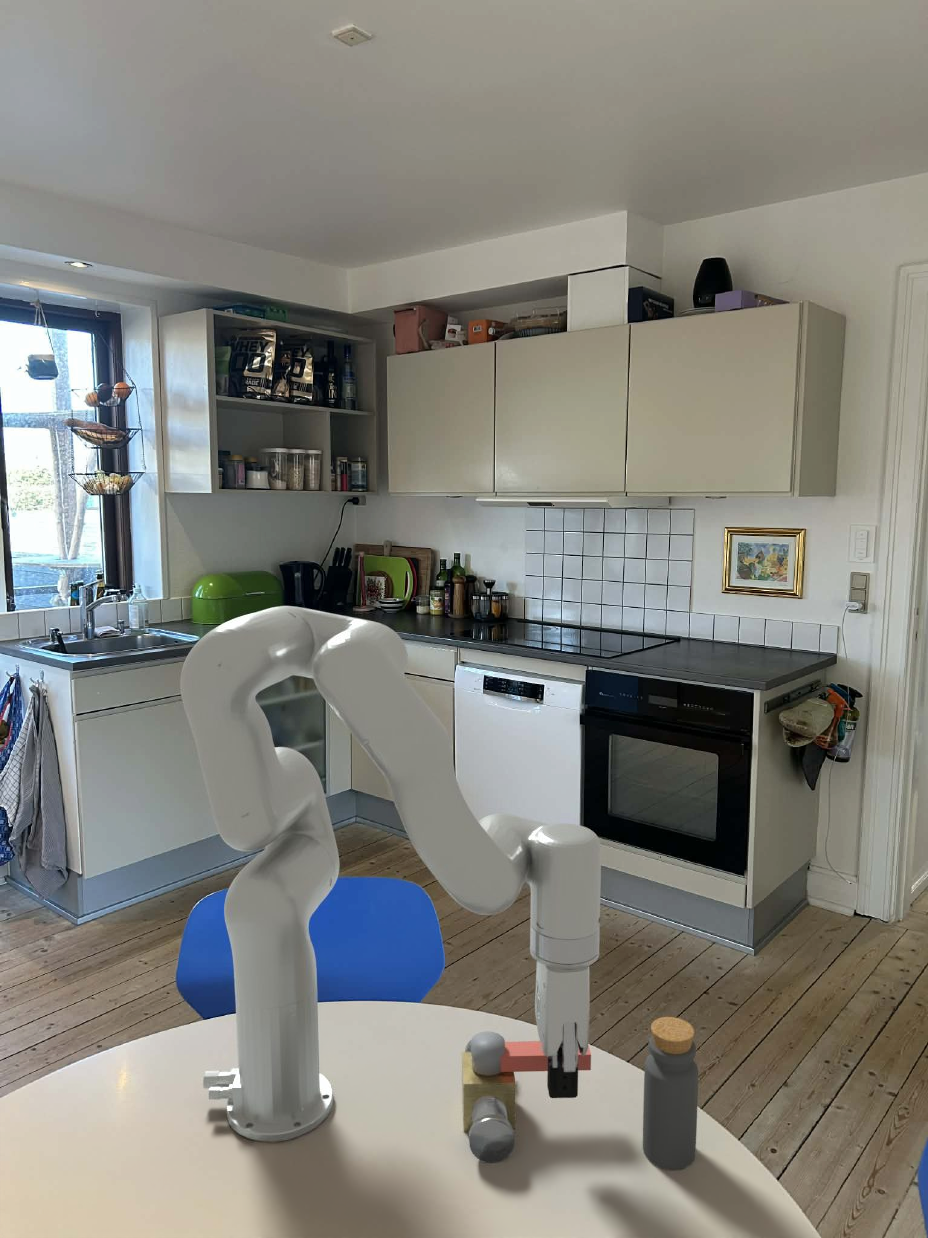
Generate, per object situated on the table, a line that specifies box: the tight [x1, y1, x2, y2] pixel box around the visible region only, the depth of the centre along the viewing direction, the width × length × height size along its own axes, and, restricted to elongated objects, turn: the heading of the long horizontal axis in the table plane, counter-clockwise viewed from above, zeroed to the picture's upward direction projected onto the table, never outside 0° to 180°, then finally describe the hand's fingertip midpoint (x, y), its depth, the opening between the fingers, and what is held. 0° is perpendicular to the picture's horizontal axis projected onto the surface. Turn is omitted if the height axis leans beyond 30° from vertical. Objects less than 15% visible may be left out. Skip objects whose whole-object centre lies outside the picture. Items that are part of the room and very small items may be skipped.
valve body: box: [461, 1039, 516, 1164], centre depth 109 cm, size 6×16×6 cm, turn 2°
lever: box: [470, 1031, 592, 1076], centre depth 108 cm, size 14×4×3 cm, turn 92°
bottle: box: [642, 1016, 699, 1171], centre depth 102 cm, size 6×6×15 cm
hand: (562, 1093), depth 102 cm, fingers closed
